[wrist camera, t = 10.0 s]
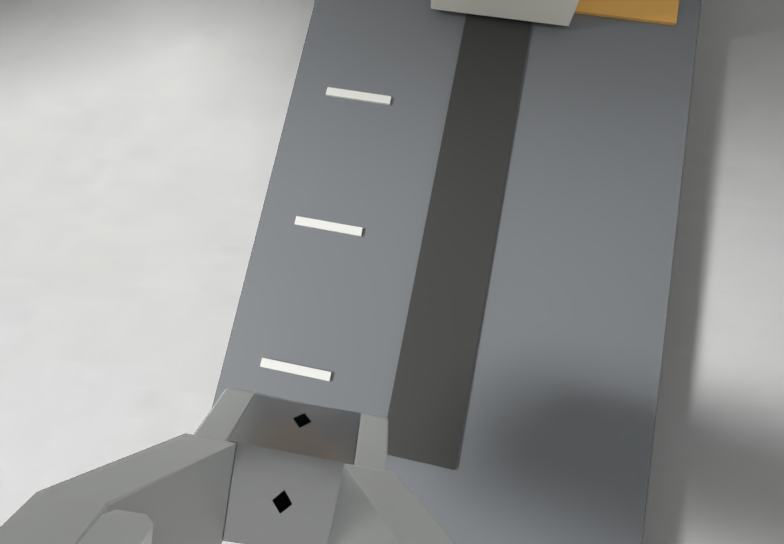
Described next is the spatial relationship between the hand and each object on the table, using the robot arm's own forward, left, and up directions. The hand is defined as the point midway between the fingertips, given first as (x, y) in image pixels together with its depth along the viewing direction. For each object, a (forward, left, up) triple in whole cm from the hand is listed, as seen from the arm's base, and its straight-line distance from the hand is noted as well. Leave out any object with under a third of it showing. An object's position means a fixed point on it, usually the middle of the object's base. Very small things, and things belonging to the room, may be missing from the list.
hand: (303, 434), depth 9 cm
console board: (-8, +7, -9) cm, 14 cm away
